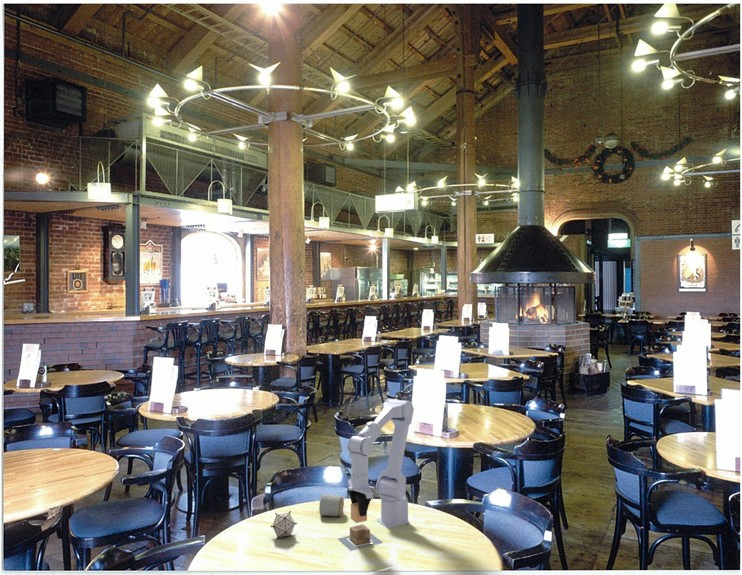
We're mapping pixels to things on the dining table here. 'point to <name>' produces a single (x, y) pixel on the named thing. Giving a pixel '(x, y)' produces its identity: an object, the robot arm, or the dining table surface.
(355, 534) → the walnut block
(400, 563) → the dining table surface
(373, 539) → the mat
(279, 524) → the game die
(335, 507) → the grey cylinder
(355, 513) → the terracotta block
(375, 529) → the dining table surface
